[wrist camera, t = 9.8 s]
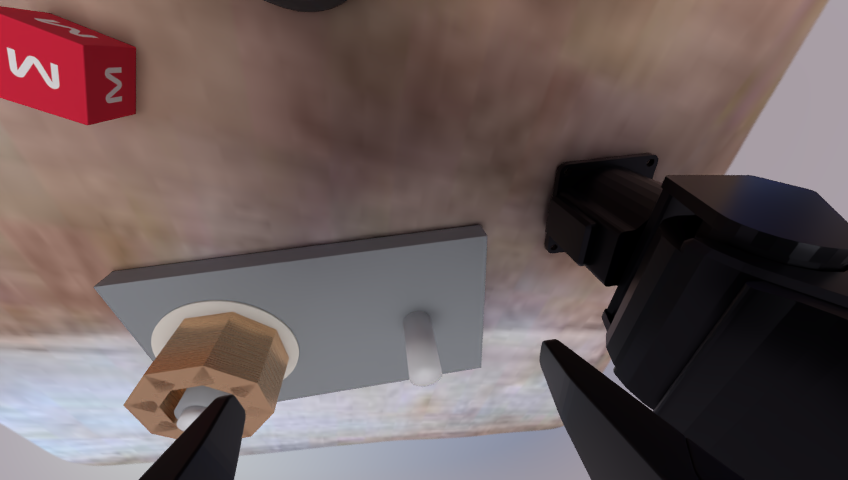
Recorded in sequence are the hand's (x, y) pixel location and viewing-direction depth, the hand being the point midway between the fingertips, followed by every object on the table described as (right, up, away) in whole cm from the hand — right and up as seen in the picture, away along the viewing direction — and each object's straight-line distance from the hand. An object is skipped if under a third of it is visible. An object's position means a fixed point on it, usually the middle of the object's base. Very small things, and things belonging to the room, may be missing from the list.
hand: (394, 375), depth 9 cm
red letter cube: (-14, +12, +5) cm, 19 cm away
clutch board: (-6, -2, +14) cm, 16 cm away
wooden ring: (-12, -4, +12) cm, 18 cm away
